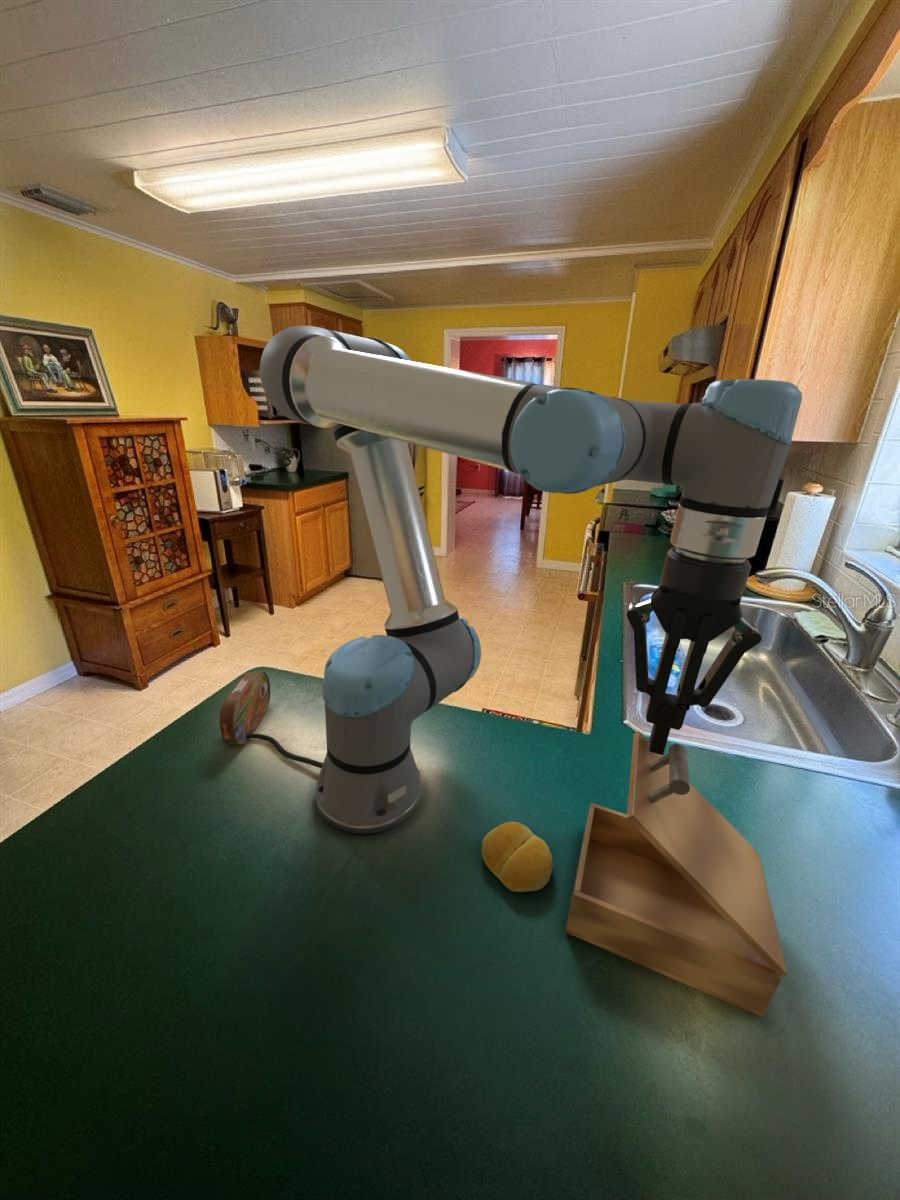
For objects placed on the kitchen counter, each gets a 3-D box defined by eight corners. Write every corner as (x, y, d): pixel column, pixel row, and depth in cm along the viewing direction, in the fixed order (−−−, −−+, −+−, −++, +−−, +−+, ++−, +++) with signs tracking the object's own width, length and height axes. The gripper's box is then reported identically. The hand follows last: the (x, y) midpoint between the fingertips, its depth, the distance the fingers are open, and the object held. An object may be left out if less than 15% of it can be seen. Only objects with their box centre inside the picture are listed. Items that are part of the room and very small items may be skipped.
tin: (239, 755, 75) (233, 711, 72) (219, 754, 75) (212, 710, 72) (273, 701, 89) (269, 663, 86) (256, 700, 89) (252, 662, 86)
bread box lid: (626, 818, 45) (672, 795, 42) (633, 733, 57) (669, 712, 54) (779, 976, 44) (836, 963, 41) (753, 855, 56) (795, 839, 53)
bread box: (565, 932, 52) (573, 894, 50) (583, 836, 65) (590, 802, 62) (762, 1017, 46) (782, 978, 44) (740, 892, 58) (755, 857, 56)
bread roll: (523, 909, 55) (527, 885, 53) (470, 856, 61) (473, 833, 59) (566, 870, 60) (571, 847, 58) (513, 824, 66) (517, 802, 64)
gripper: (638, 551, 45) (595, 748, 54) (796, 575, 41) (721, 785, 50) (641, 535, 52) (602, 714, 61) (777, 554, 47) (714, 744, 56)
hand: (656, 746), depth 55 cm, fingers closed
